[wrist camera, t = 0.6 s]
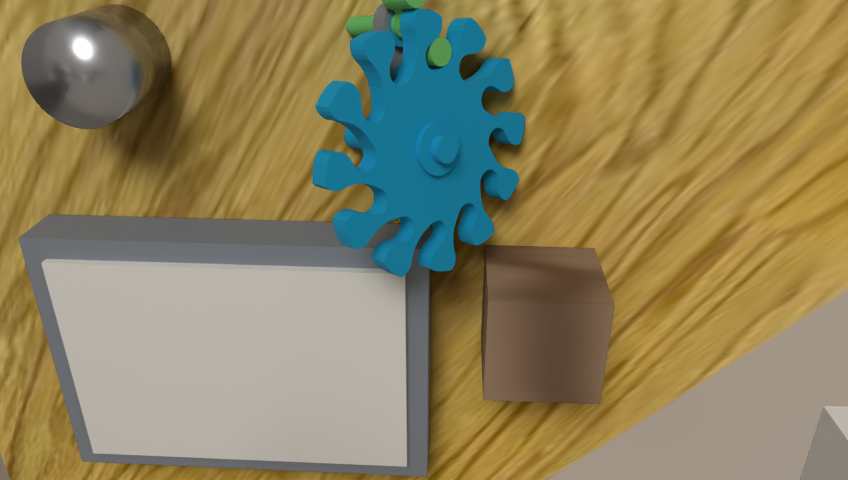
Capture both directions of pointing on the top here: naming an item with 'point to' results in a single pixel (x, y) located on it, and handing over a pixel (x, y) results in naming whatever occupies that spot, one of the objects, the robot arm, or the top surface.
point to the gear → (418, 136)
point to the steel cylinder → (95, 65)
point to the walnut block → (544, 324)
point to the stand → (235, 343)
